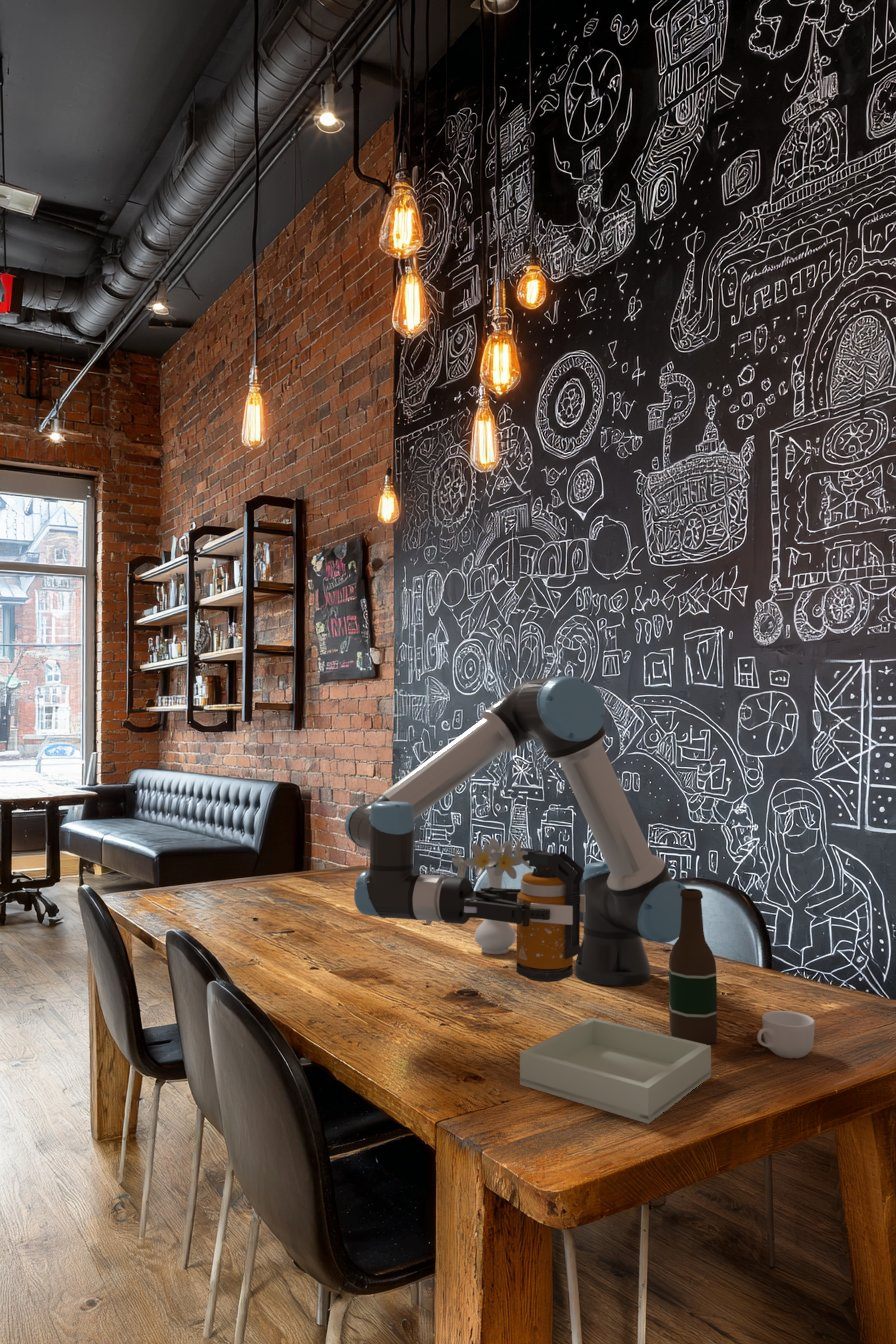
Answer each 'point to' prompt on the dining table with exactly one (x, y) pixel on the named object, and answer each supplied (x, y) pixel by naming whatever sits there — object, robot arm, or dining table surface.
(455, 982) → the dining table surface
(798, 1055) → the teacup
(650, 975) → the robot arm
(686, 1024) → the beer bottle
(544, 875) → the canister
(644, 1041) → the tray
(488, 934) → the flower vase
